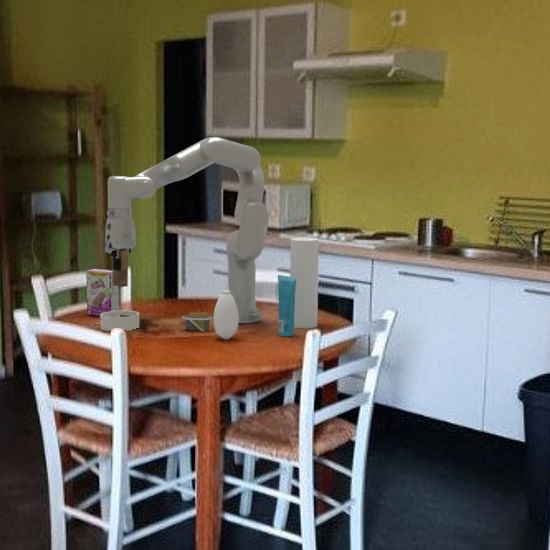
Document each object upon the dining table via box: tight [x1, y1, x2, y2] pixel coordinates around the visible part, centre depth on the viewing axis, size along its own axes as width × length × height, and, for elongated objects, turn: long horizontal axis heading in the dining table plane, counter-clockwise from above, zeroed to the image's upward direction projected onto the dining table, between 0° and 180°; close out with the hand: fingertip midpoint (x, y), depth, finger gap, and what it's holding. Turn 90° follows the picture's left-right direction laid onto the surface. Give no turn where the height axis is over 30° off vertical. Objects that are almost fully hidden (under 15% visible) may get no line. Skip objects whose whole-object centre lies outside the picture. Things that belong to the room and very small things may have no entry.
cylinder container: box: [289, 236, 320, 329], centre depth 273 cm, size 9×9×30 cm
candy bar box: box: [85, 268, 120, 318], centre depth 288 cm, size 11×5×16 cm, turn 63°
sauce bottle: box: [213, 282, 240, 340], centre depth 253 cm, size 8×8×18 cm
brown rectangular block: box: [112, 249, 129, 288], centre depth 267 cm, size 4×2×12 cm, turn 55°
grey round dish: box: [99, 309, 140, 332], centre depth 270 cm, size 13×13×4 cm
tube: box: [277, 274, 297, 337], centre depth 259 cm, size 7×5×19 cm, turn 57°
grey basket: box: [181, 311, 213, 332], centre depth 265 cm, size 12×18×7 cm, turn 86°
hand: (120, 269), depth 267 cm, fingers closed on brown rectangular block, 2 cm apart
